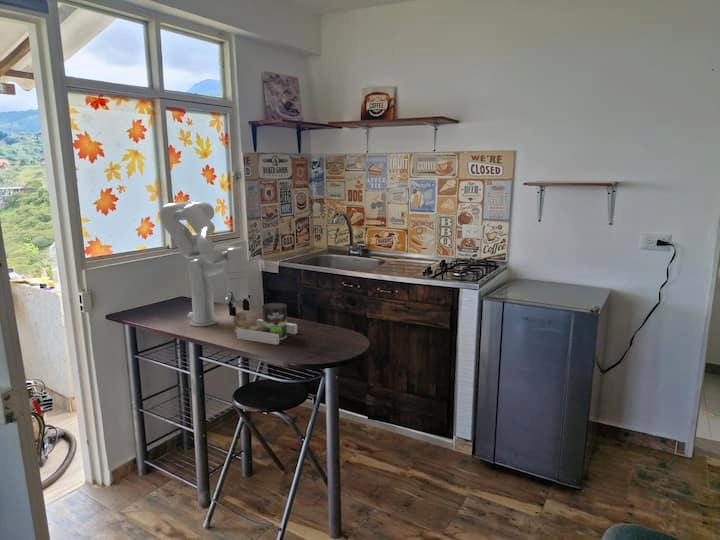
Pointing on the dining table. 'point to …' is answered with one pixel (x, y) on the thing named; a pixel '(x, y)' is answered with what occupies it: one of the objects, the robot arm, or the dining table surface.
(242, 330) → the white rectangular posts
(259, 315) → the dining table surface
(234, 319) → the wooden rectangular block
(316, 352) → the dining table surface
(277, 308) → the coffee can
